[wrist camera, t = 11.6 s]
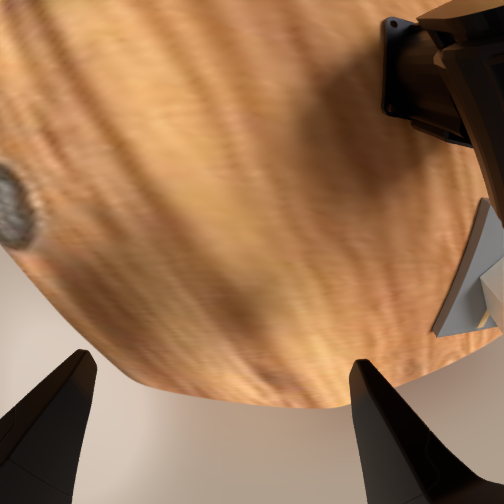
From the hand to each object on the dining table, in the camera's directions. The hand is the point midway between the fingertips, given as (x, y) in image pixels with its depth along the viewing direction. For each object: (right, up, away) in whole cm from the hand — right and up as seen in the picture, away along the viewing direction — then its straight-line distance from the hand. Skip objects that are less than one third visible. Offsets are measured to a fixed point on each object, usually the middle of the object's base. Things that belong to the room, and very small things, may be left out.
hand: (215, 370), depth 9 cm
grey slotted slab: (+25, +2, +13) cm, 28 cm away
